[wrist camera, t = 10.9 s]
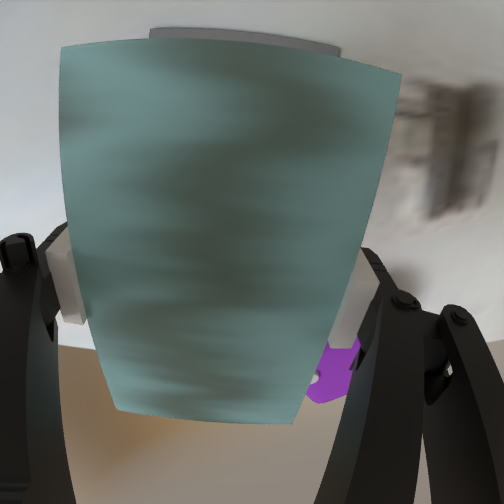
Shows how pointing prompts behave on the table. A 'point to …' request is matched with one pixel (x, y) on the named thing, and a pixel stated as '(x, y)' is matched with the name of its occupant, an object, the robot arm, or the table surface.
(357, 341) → the toy camera
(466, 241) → the table surface
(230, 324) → the tile
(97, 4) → the table surface
